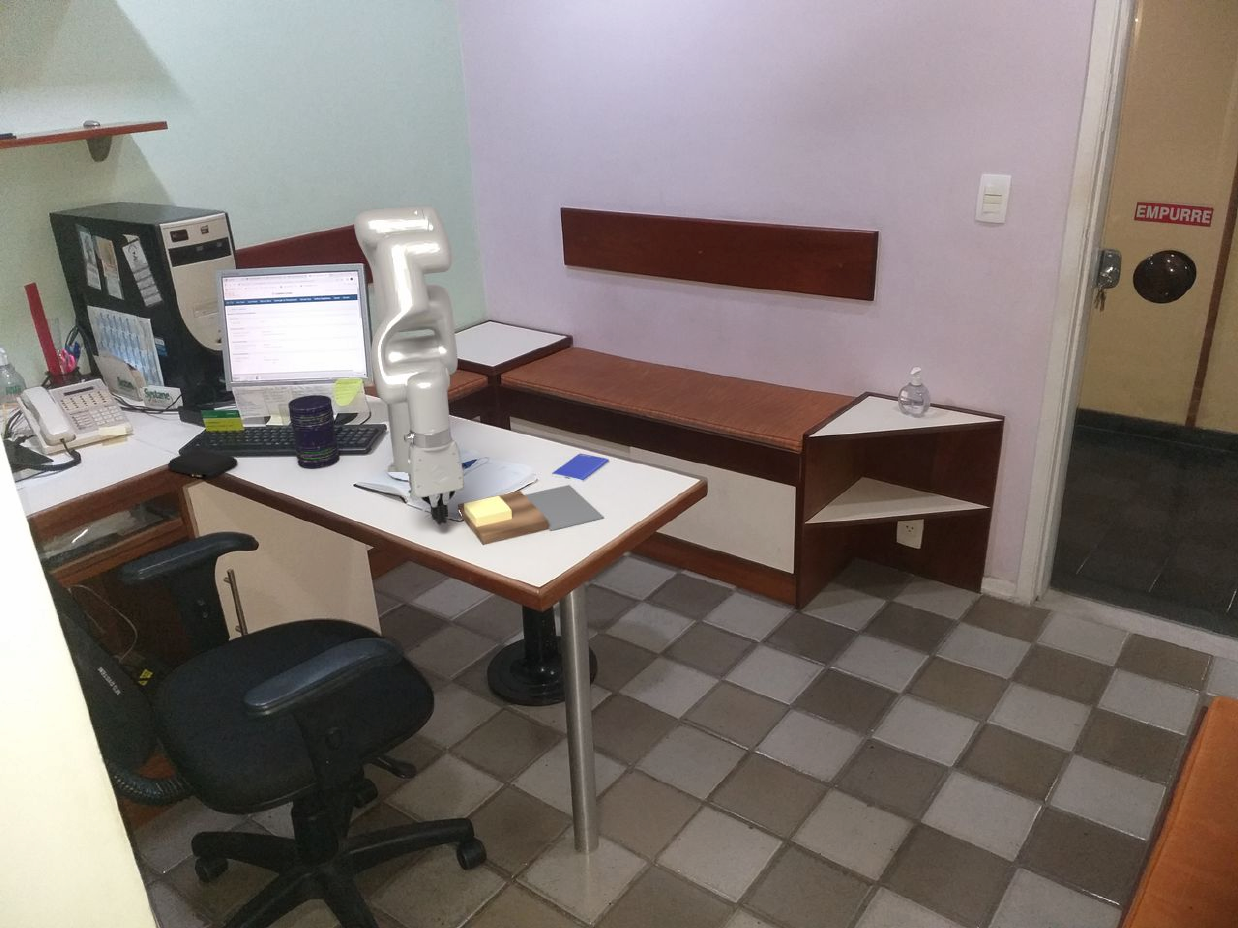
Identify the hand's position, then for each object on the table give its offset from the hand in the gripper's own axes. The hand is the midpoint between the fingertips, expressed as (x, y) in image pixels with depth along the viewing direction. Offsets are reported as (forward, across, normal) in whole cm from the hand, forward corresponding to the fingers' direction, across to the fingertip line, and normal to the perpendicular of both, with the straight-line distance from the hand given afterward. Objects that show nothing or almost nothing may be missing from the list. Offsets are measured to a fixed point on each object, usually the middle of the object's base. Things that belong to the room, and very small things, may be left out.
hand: (440, 521), depth 194 cm
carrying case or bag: (+3, -40, +60) cm, 72 cm away
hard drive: (+4, +38, +16) cm, 42 cm away
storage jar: (+3, -15, +51) cm, 53 cm away
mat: (+3, +26, 0) cm, 26 cm away
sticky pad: (+1, +10, 0) cm, 10 cm away
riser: (+3, +13, 0) cm, 13 cm away
